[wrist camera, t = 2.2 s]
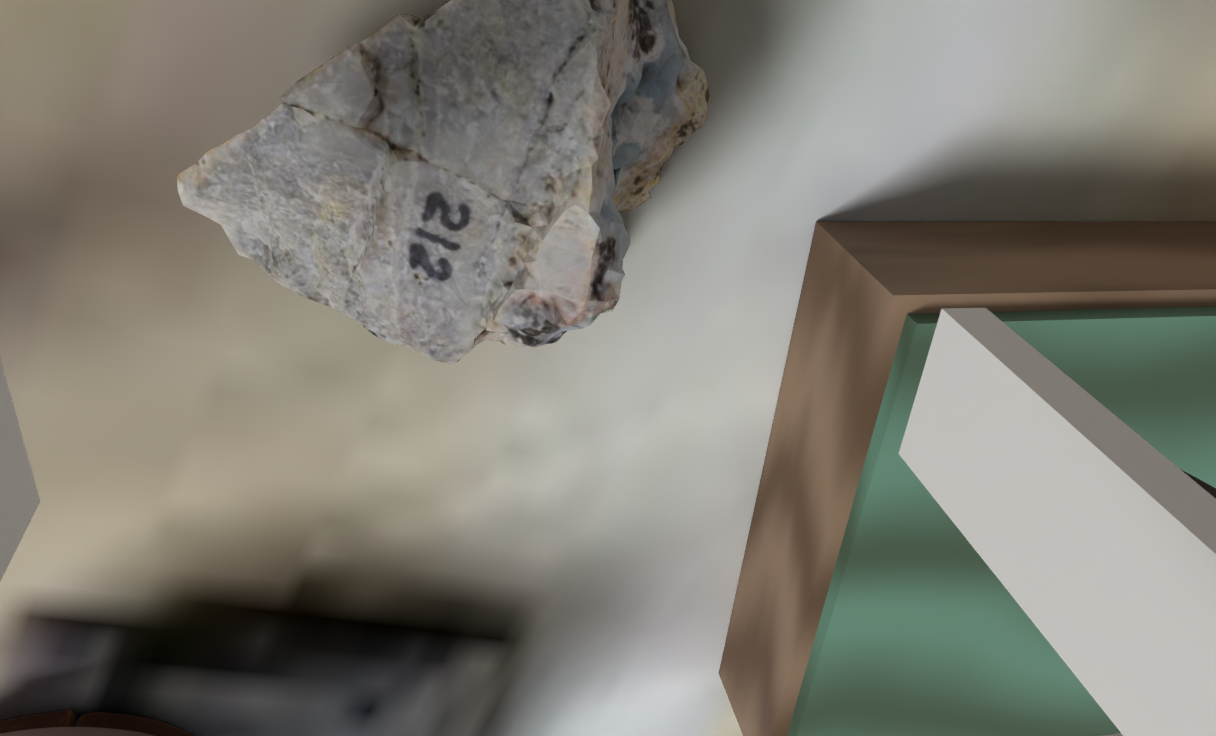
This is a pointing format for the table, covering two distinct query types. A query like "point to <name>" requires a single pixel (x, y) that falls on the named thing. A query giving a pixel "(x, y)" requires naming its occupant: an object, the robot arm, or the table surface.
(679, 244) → the table surface
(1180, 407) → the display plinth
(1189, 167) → the table surface
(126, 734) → the flowerpot
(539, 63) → the mineral specimen
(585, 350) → the table surface
